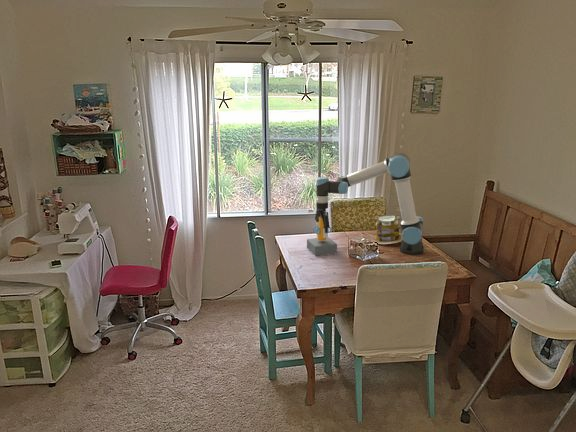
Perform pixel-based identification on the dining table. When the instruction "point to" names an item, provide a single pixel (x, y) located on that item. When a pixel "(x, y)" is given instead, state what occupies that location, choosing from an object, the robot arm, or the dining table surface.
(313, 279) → the dining table surface
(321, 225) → the orange blue tower
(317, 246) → the plinth
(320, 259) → the dining table surface
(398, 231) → the glass jar
